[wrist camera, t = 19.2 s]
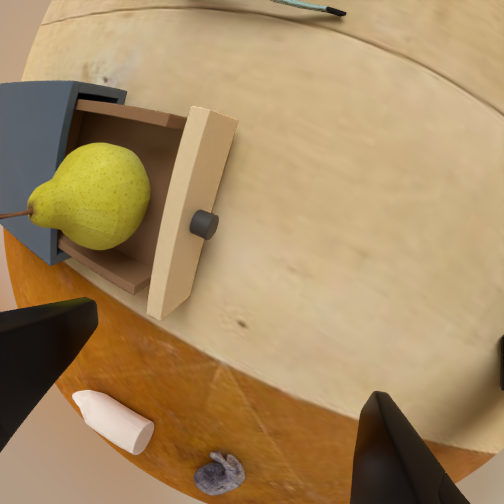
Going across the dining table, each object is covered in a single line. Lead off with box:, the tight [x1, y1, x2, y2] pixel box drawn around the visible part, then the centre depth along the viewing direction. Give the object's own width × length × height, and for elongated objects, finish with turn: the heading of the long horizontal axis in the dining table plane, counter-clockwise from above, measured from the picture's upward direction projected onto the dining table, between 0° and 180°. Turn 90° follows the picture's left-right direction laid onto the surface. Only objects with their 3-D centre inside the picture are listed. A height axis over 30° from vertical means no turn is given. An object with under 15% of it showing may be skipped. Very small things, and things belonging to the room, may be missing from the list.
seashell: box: [194, 451, 245, 495], centre depth 28 cm, size 5×5×10 cm
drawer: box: [57, 99, 239, 321], centre depth 19 cm, size 16×13×4 cm
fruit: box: [0, 143, 151, 250], centre depth 15 cm, size 7×7×12 cm
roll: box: [72, 390, 154, 455], centre depth 31 cm, size 6×12×6 cm, turn 75°
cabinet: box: [0, 81, 127, 266], centre depth 22 cm, size 16×15×6 cm
